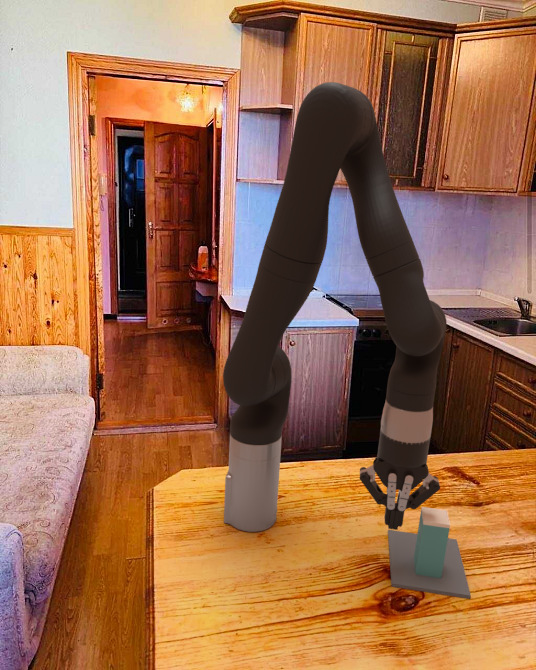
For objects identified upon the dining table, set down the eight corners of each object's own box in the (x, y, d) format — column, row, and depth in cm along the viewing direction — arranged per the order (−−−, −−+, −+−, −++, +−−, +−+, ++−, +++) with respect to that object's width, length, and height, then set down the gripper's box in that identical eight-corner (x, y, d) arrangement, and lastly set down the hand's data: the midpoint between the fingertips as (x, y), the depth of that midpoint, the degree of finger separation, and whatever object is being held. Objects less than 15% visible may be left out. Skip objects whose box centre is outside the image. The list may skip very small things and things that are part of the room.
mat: (391, 586, 89) (391, 583, 89) (387, 532, 103) (388, 529, 102) (470, 598, 88) (470, 595, 87) (456, 542, 101) (456, 539, 101)
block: (415, 574, 91) (423, 521, 88) (413, 558, 95) (421, 506, 92) (441, 578, 91) (450, 524, 88) (438, 562, 95) (446, 510, 92)
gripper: (362, 435, 84) (351, 534, 89) (453, 446, 82) (437, 547, 87) (362, 414, 91) (352, 507, 96) (446, 424, 89) (431, 518, 94)
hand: (392, 526), depth 92 cm, fingers closed
